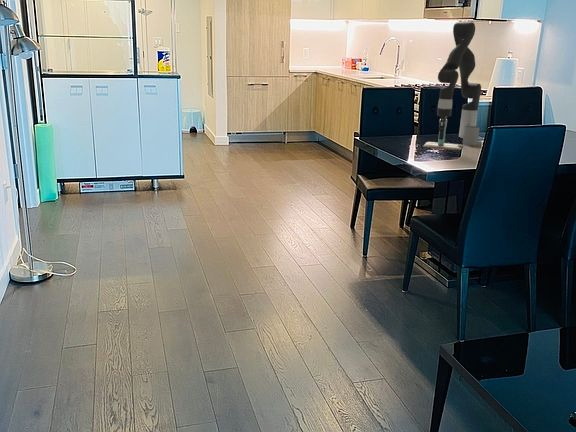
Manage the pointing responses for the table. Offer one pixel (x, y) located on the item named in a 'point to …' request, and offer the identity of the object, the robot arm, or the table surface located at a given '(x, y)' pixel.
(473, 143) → the cup
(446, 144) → the clipboard
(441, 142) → the marker
